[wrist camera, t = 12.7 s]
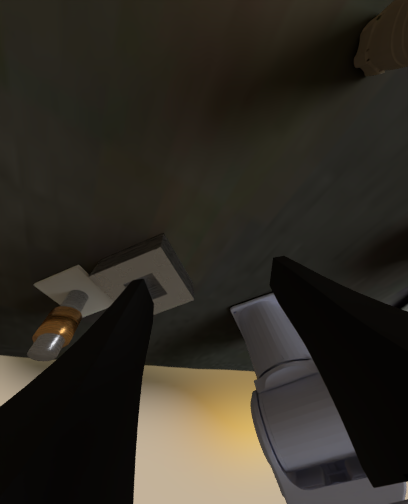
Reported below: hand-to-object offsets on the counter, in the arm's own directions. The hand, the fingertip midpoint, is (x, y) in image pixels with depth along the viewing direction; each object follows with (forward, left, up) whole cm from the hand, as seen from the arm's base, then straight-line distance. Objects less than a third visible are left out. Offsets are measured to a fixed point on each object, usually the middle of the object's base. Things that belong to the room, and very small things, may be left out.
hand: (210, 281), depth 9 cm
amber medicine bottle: (-3, +18, -9) cm, 20 cm away
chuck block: (-4, +8, -10) cm, 13 cm away
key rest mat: (-3, +18, -10) cm, 20 cm away
